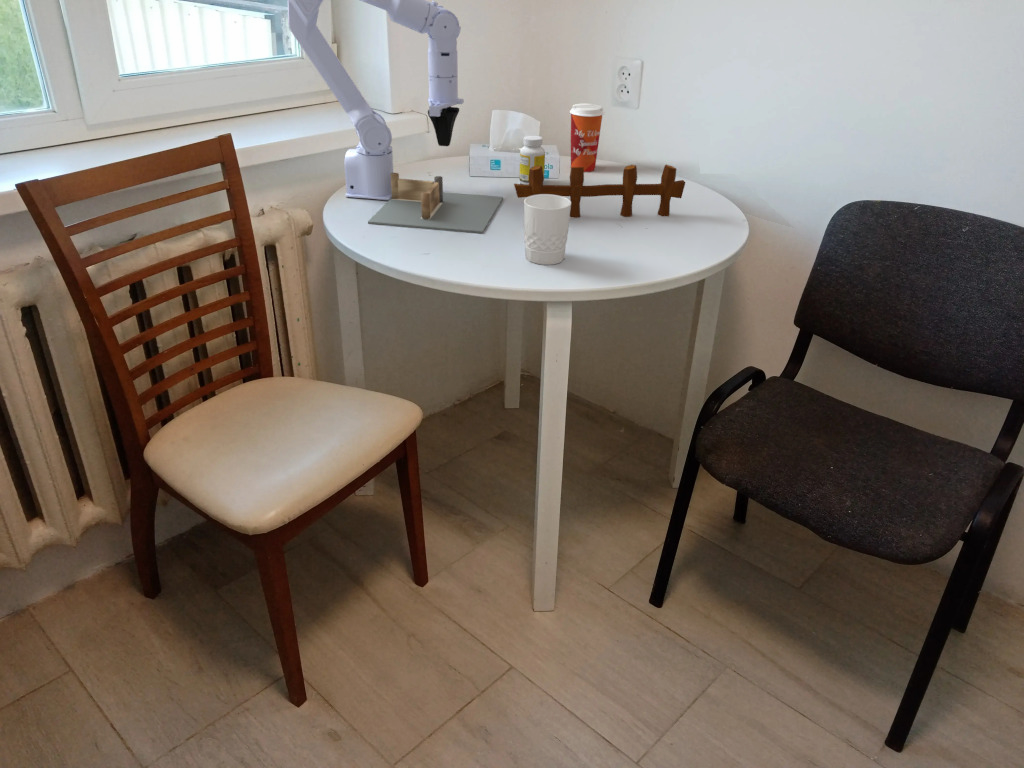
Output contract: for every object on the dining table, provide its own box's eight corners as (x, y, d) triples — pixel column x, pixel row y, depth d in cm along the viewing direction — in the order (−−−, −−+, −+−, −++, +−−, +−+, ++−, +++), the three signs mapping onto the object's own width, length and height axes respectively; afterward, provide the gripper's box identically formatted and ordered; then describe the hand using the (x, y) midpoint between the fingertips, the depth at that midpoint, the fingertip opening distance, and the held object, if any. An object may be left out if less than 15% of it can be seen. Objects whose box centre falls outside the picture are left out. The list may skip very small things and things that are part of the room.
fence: (514, 219, 154) (515, 168, 148) (512, 214, 156) (513, 164, 151) (681, 217, 157) (688, 167, 152) (677, 212, 160) (684, 163, 155)
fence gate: (433, 202, 159) (433, 179, 156) (441, 202, 159) (441, 180, 156) (420, 218, 151) (419, 194, 148) (428, 218, 150) (428, 195, 148)
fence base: (390, 199, 160) (389, 174, 158) (393, 196, 162) (392, 172, 159) (441, 203, 159) (441, 178, 156) (443, 200, 160) (443, 176, 158)
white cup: (520, 249, 140) (521, 194, 135) (564, 249, 141) (567, 194, 135) (524, 266, 133) (526, 209, 128) (570, 266, 134) (574, 209, 129)
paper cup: (571, 174, 180) (576, 110, 173) (562, 164, 187) (565, 103, 180) (604, 172, 182) (609, 109, 175) (593, 163, 188) (598, 102, 181)
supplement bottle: (544, 180, 176) (546, 135, 171) (542, 187, 171) (545, 141, 166) (520, 178, 176) (521, 133, 171) (518, 185, 172) (519, 140, 167)
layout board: (368, 223, 149) (367, 221, 149) (400, 190, 167) (400, 188, 167) (482, 233, 146) (482, 231, 146) (503, 198, 164) (503, 196, 164)
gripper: (454, 83, 149) (455, 155, 156) (470, 70, 161) (470, 138, 168) (417, 81, 150) (420, 153, 157) (437, 68, 162) (438, 135, 169)
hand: (444, 145), depth 163 cm, fingers closed
